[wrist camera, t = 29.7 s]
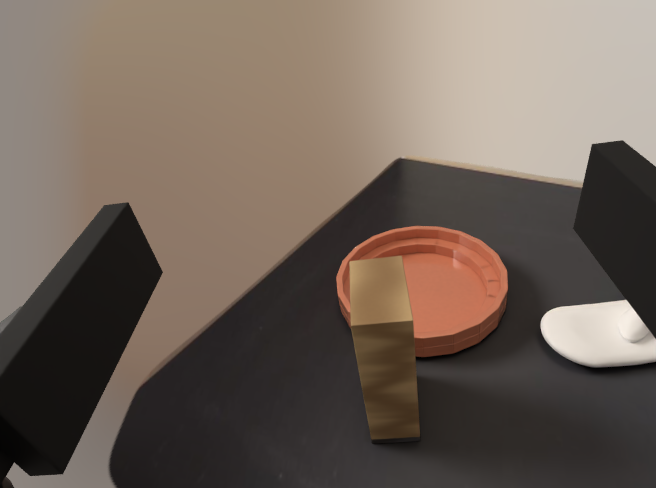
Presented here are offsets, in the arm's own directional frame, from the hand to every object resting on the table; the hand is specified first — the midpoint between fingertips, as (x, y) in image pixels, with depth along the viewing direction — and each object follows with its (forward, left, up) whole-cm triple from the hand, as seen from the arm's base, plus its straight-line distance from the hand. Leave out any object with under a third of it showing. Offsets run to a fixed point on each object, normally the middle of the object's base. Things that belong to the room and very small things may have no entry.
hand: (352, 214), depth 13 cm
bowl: (-2, +22, -25) cm, 33 cm away
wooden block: (-2, +9, -25) cm, 27 cm away
